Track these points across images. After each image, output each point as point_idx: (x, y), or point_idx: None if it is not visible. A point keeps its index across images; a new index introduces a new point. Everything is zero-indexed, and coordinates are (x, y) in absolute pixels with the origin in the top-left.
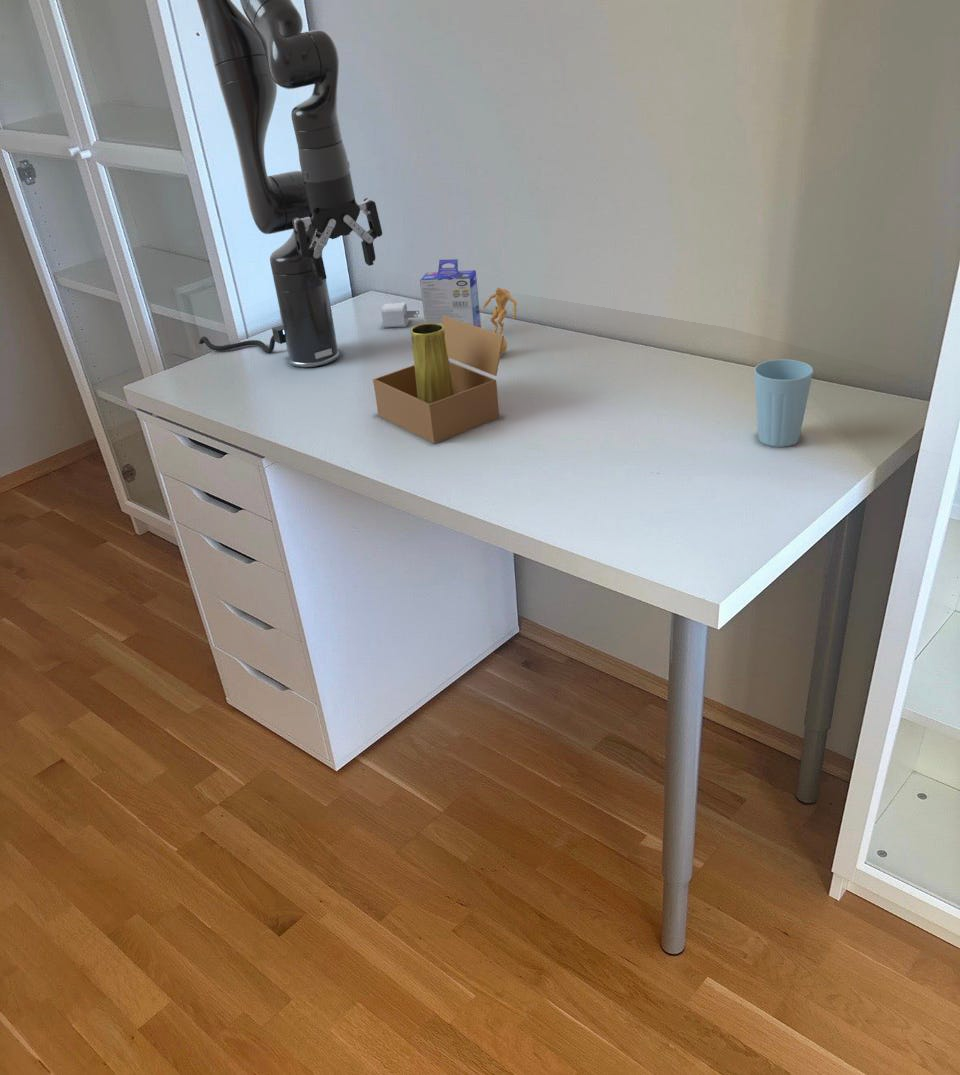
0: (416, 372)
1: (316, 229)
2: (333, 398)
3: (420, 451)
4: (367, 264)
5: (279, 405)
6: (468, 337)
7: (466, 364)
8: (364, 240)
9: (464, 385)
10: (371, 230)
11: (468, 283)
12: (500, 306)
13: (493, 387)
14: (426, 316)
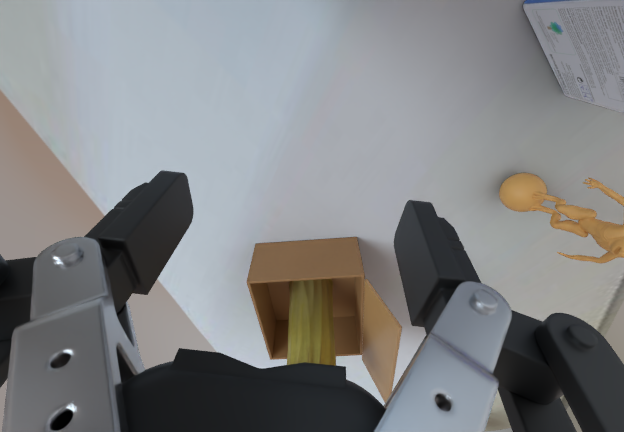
0: (288, 334)
1: (13, 424)
2: (220, 149)
3: (257, 322)
4: (401, 216)
5: (123, 108)
6: (382, 354)
7: (363, 327)
8: (432, 325)
9: (357, 297)
10: (520, 376)
11: None
12: (589, 233)
13: (356, 347)
14: (573, 8)
